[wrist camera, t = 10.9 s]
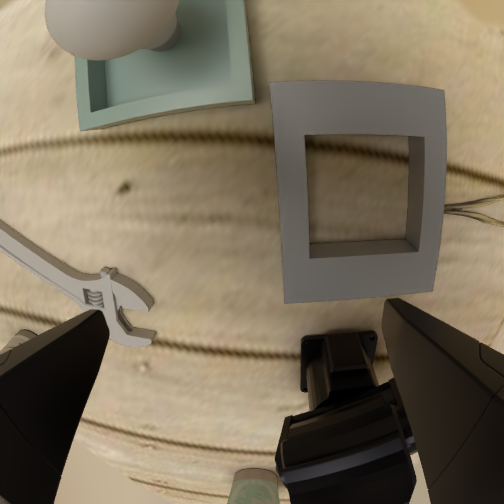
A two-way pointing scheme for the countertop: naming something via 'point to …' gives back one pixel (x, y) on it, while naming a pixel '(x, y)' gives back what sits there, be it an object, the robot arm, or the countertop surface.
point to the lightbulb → (112, 26)
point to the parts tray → (172, 70)
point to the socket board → (419, 193)
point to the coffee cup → (254, 487)
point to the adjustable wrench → (85, 287)
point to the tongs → (456, 207)
